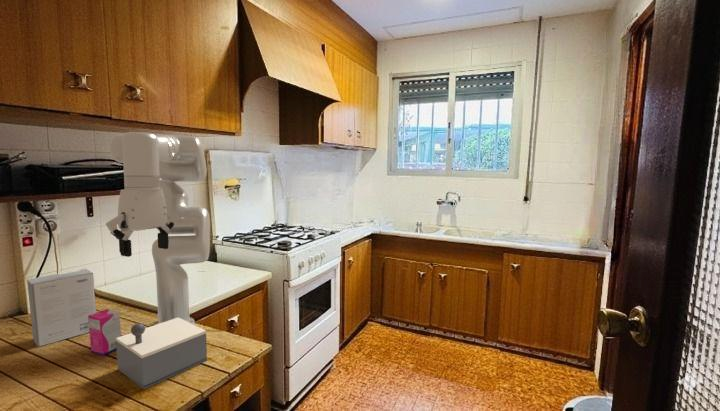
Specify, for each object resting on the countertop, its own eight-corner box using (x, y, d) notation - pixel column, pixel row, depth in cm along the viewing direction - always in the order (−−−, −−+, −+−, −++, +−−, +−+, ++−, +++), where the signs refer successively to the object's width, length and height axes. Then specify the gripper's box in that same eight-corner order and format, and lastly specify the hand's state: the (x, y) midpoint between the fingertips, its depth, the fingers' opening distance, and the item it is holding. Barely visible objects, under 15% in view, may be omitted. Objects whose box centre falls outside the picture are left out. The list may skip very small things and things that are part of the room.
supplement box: (109, 343, 112) (107, 307, 111) (122, 347, 110) (120, 311, 109) (89, 352, 107) (87, 314, 106) (102, 356, 105) (100, 318, 104)
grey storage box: (117, 369, 98) (116, 341, 97) (179, 344, 112) (178, 320, 111) (143, 389, 90) (142, 358, 89) (206, 360, 103) (206, 333, 103)
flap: (116, 340, 97) (114, 319, 97) (178, 319, 111) (177, 301, 111) (142, 358, 89) (140, 335, 88) (206, 333, 103) (205, 312, 102)
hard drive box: (91, 324, 126) (87, 268, 124) (98, 330, 121) (94, 272, 119) (31, 340, 114) (26, 278, 112) (36, 347, 109) (31, 283, 107)
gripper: (164, 182, 98) (166, 244, 100) (95, 184, 83) (99, 257, 84) (183, 183, 95) (185, 247, 97) (115, 184, 80) (119, 261, 81)
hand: (145, 251), depth 90 cm, fingers open, 9 cm apart
